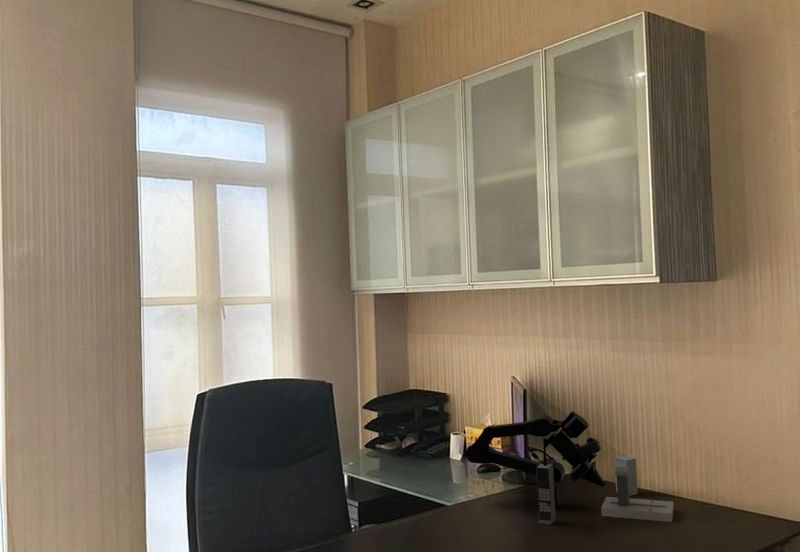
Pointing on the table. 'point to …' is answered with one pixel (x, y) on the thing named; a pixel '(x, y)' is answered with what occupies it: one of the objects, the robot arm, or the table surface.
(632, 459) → the skincare box
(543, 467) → the vintage mobile phone
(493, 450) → the robot arm
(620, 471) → the fader tab
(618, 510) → the block
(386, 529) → the table surface
